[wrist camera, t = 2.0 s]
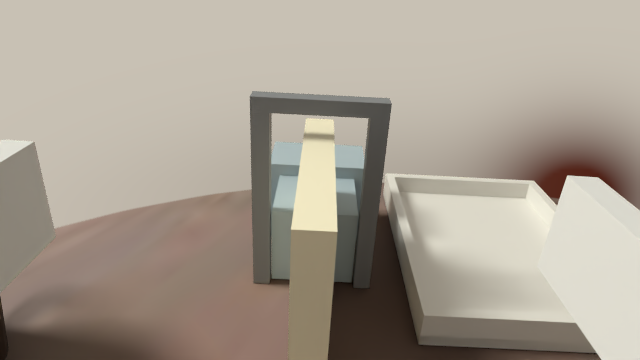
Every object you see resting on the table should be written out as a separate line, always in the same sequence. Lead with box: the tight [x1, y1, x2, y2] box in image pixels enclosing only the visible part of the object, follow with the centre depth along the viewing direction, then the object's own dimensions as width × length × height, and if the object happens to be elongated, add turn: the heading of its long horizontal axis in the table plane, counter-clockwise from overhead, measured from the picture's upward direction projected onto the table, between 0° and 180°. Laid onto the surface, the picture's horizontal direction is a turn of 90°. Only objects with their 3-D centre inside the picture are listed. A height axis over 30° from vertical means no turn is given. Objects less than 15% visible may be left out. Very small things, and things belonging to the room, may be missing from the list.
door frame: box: [250, 91, 392, 288], centre depth 36 cm, size 9×12×14 cm
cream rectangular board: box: [288, 118, 338, 360], centre depth 29 cm, size 2×15×12 cm, turn 179°
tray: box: [383, 173, 596, 353], centre depth 38 cm, size 16×21×2 cm
